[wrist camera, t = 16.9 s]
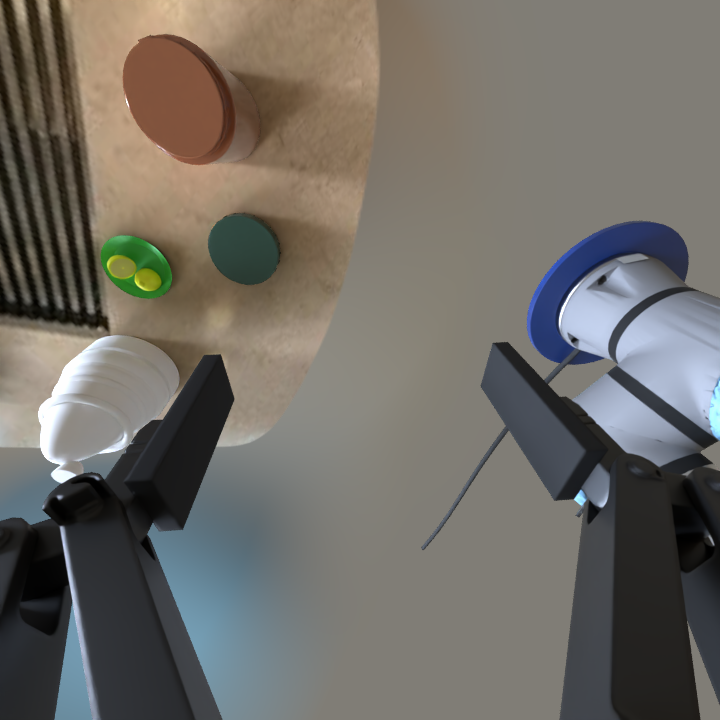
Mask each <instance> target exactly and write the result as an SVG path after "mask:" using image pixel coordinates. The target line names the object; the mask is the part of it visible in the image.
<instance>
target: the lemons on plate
mask: <svg viewBox="0 0 720 720" xmlns="http://www.w3.org/2000/svg"><path fill="white" fill-rule="evenodd" d="M101 262H102V266H103V268H104V270H105V272H106V274H107V276H108V277H109V278H110V280H111V281H112V282H113V283H114V284H115V285H116V286H118V287H119V288H120V289H121V290H123V291H125V292H126V293H128V294H130V295H133V296H135V297H139V298H145V299H152V298H157V297H160V296H162V295H164V294H165V293H166V292H167V291H168V290H169V288H170V286H171V283H172V273H171V269H170V266H169V264H168V262H167V261H166V259H165V257H164V256H163V255H162V254H161V253H160V251H158V250H157V249H156V248H155V247H154V246H152V245H151V244H149V243H148V242H146V241H144V240H142V239H140V238H137V237H133V236H126V235H123V236H116V237H113V238H111V239H109V240H108V241H107V242H106V243H105V244H104V246H103V248H102V250H101Z"/></svg>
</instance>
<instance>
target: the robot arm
mask: <svg viewBox="0 0 720 720" xmlns="http://www.w3.org/2000/svg"><path fill="white" fill-rule="evenodd" d="M555 323H556V329H557V331H558V334H559V335H560V337H561V338H562V339H563V340H565V341H566V342H567V343H568V344H570V345H571V346H573V347H575V349H574V350H573V351H572V352H571V353H570V354H569V355H568V356H567V358H565V359H564V360H563V361H562V362H561V363H560V364H559V365H558V366H557V367H556V368H555V369H554V370H553V372H551V374H550V375H549V376H548V377H547V378H546V379H545V380H543V379H542V378H541V377H540V376H539V375H538V374H537V373H536V372H535V370H534V369H533V368H532V367H531V366H530V365H529V364H528V363H527V362H526V361H525V360H524V359H523V358H522V357H521V356H520V355H519V354H518V352H517V351H516V350H515V349H514V348H513V347H512V346H511V345H510V344H509V343H508V342H501V343H493V344H492V349H491V351H490V355H489V358H488V362H487V366H486V369H485V373H484V376H483V380H482V383H481V388H482V389H483V391H484V392H485V394H486V395H487V397H488V398H489V400H490V402H491V403H492V405H493V406H494V408H495V409H496V411H497V412H498V414H499V416H500V417H501V419H502V420H503V422H504V423H505V425H506V427H505V428H504V429H503V431H502V432H501V433H500V435H499V436H498V437H497V439H496V440H495V442H494V443H493V444H492V446H491V447H490V448H489V450H488V451H487V453H486V454H485V456H484V457H483V459H482V460H481V462H480V463H479V465H478V466H477V468H476V469H475V471H474V472H473V474H472V475H471V477H470V479H469V480H468V482H467V483H466V485H465V487H464V488H463V490H462V491H461V493H460V494H459V496H458V498H457V499H456V501H455V502H454V504H453V506H452V507H451V509H450V510H449V512H448V513H447V515H446V516H445V517H444V519H443V520H442V522H441V523H440V525H439V526H438V527H437V529H436V530H435V531H434V533H433V534H432V535H431V536H430V538H429V539H428V540H427V541H426V543H425V544H424V545H423V546H422V547H421V548H422V550H424V549H425V548H426V547H427V546H428V544H429V543H430V542H431V541H432V539H433V538H434V537H435V536H436V534H437V533H438V532H439V531H440V529H441V528H442V527H443V525H444V524H445V523H446V521H447V520H448V518H449V517H450V515H451V514H452V512H453V511H454V509H455V508H456V506H457V505H458V503H459V502H460V500H461V499H462V497H463V496H464V494H465V492H466V491H467V489H468V488H469V486H470V485H471V483H472V482H473V480H474V479H475V477H476V475H477V474H478V472H479V471H480V469H481V468H482V466H483V465H484V464H485V462H486V461H487V459H488V458H489V456H490V455H491V454H492V452H493V451H494V449H495V448H496V447H497V445H498V444H499V443H500V441H501V440H502V439H503V437H504V436H505V435H506V433H507V432H508V431H510V432H511V434H512V436H513V437H514V439H515V440H516V442H517V443H518V445H519V447H520V448H521V450H522V451H523V452H524V454H525V456H526V457H527V459H528V460H529V462H530V464H531V465H532V467H533V468H534V470H535V471H536V473H537V474H538V476H539V477H540V479H541V481H542V482H543V484H544V485H545V487H546V488H547V490H548V491H549V493H550V494H551V496H552V498H553V499H554V500H556V501H557V500H569V499H574V500H575V501H576V502H578V503H579V504H580V505H581V508H580V509H579V511H578V512H577V514H576V516H577V517H580V516H581V514H582V513H583V520H582V528H581V537H580V546H579V555H578V564H577V572H576V581H575V590H574V599H573V607H572V616H571V624H570V634H569V642H568V652H567V660H566V668H565V677H564V686H563V694H562V703H561V712H560V720H700V713H699V706H698V698H697V691H696V683H695V676H694V669H693V661H692V654H691V646H690V639H689V632H688V624H687V621H688V623H689V626H690V629H691V631H692V634H693V636H694V639H695V642H696V644H697V647H698V649H699V652H700V655H701V657H702V660H703V663H704V665H705V668H706V670H707V673H708V676H709V678H710V681H711V683H712V686H713V688H714V691H715V694H716V696H717V699H718V702H719V704H720V471H719V468H718V467H717V466H716V465H715V464H713V463H712V462H711V461H710V460H708V459H707V458H706V457H705V456H703V455H702V454H701V453H700V452H701V451H702V450H704V449H705V448H707V447H709V446H710V445H712V444H714V443H716V442H718V441H720V298H718V297H715V296H712V295H709V294H707V293H704V292H701V291H698V290H695V289H693V288H690V287H688V286H687V285H686V284H685V283H684V282H683V281H682V280H681V279H680V278H679V277H678V276H677V275H676V274H675V273H674V272H673V271H672V270H671V269H670V268H669V267H667V266H666V265H665V264H664V263H663V262H661V261H660V260H658V259H656V258H654V257H651V256H648V255H645V254H642V253H636V252H629V253H621V254H617V255H614V256H611V257H608V258H606V259H604V260H602V261H600V262H598V263H596V264H595V265H593V266H592V267H590V268H589V269H587V270H586V271H585V272H584V273H582V274H581V275H580V276H579V277H578V278H577V279H576V280H575V281H574V282H573V283H572V284H571V286H570V287H569V288H568V289H567V291H566V292H565V294H564V295H563V297H562V299H561V301H560V303H559V306H558V309H557V312H556V318H555ZM581 351H585V352H588V353H591V354H595V355H598V356H601V357H604V358H608V359H611V360H613V361H614V362H616V363H617V364H618V365H617V366H615V367H614V368H613V369H611V370H610V371H609V372H608V373H606V374H605V375H604V376H602V377H601V378H600V379H598V380H597V381H596V382H595V383H594V384H592V385H591V386H589V387H588V388H587V389H586V390H584V391H583V392H582V393H581V394H579V395H578V396H577V397H575V398H574V399H573V400H571V399H569V398H567V397H559V396H558V395H557V394H556V393H555V392H554V391H553V390H552V388H550V386H549V385H548V383H549V382H550V381H551V380H552V379H553V378H554V377H555V376H556V375H557V374H558V373H559V372H560V371H561V370H562V369H563V368H564V367H565V366H566V365H567V364H568V363H570V362H571V361H572V360H573V359H574V358H575V357H576V356H577V355H578V354H579V353H580V352H581ZM233 402H234V395H233V392H232V389H231V386H230V382H229V379H228V376H227V373H226V369H225V366H224V363H223V360H222V356H221V354H218V355H204V356H203V357H202V359H201V361H200V362H199V364H198V365H197V367H196V368H195V370H194V372H193V373H192V375H191V376H190V378H189V379H188V381H187V383H186V384H185V386H184V387H183V389H182V390H181V392H180V394H179V395H178V397H177V398H176V400H175V401H174V403H173V405H172V406H171V408H170V409H169V411H168V412H167V414H166V416H165V417H164V419H163V420H151V421H150V422H149V423H148V424H146V425H145V426H144V427H143V428H142V429H140V430H139V431H138V433H137V434H136V436H135V437H134V439H133V440H132V441H131V444H129V446H128V447H127V449H126V450H125V453H124V454H122V456H121V457H120V459H119V460H118V462H117V463H116V464H115V466H114V467H113V469H112V470H111V472H110V473H109V475H108V476H107V478H106V479H105V480H104V479H103V478H102V476H101V475H100V474H98V473H93V472H91V473H84V474H80V475H77V476H75V477H72V478H70V479H68V480H67V481H65V482H63V483H62V484H60V485H59V486H58V487H57V488H55V489H54V490H53V491H52V492H51V493H50V494H49V495H48V497H47V498H46V500H45V501H44V504H43V511H44V512H45V513H46V514H48V515H49V516H50V517H51V519H48V520H45V521H42V522H39V523H36V524H33V525H30V524H28V523H27V522H26V521H25V520H24V519H22V518H10V519H6V520H3V521H0V720H54V718H55V711H56V705H57V698H58V692H59V685H60V679H61V672H62V665H63V659H64V652H65V646H66V639H67V632H68V626H69V619H70V613H71V606H72V601H73V607H74V613H75V619H76V624H77V631H78V637H79V642H80V648H81V654H82V660H83V666H84V672H85V677H86V684H87V689H88V696H89V701H90V707H91V713H92V719H93V720H222V718H221V715H220V712H219V710H218V707H217V705H216V702H215V700H214V697H213V695H212V692H211V690H210V687H209V685H208V682H207V680H206V677H205V675H204V672H203V670H202V667H201V665H200V662H199V660H198V657H197V655H196V652H195V650H194V647H193V645H192V642H191V640H190V637H189V635H188V632H187V630H186V627H185V625H184V622H183V620H182V617H181V615H180V612H179V610H178V607H177V605H176V602H175V600H174V597H173V595H172V592H171V590H170V587H169V585H168V582H167V580H166V577H165V575H164V572H163V570H162V567H161V565H160V562H159V559H158V557H157V554H156V552H155V549H154V547H153V545H152V542H151V540H150V538H149V536H148V535H147V533H148V531H149V529H150V527H151V525H152V523H154V525H155V526H156V528H157V529H158V530H159V531H171V530H183V528H184V525H185V523H186V520H187V518H188V515H189V513H190V510H191V508H192V505H193V502H194V500H195V498H196V495H197V492H198V490H199V488H200V485H201V483H202V480H203V477H204V475H205V472H206V470H207V467H208V465H209V462H210V460H211V457H212V455H213V452H214V449H215V447H216V445H217V442H218V440H219V437H220V435H221V432H222V430H223V427H224V424H225V422H226V419H227V417H228V414H229V412H230V409H231V407H232V404H233Z"/></svg>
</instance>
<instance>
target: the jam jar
mask: <svg viewBox="0 0 720 720" xmlns="http://www.w3.org/2000/svg"><path fill="white" fill-rule="evenodd" d="M138 41H139V43H138V44H137V45H135V46H134V47H133V48H132V50H131V51H130V52H129V54H128V56H127V58H126V61H125V64H124V69H123V88H124V94H125V98H126V101H127V104H128V107H129V109H130V112H131V114H132V116H133V118H134V119H135V121H136V123H137V124H138V126H139V127H140V128H141V130H142V131H143V132H144V133H145V135H146V136H147V137H148V138H149V139H150V140H151V141H152V142H153V143H155V144H156V145H157V146H158V147H159V148H160V149H161V150H162V151H164V152H165V153H166V154H168V155H169V156H171V157H172V158H174V159H176V160H178V161H181V162H184V163H187V164H192V165H206V164H219V163H232V162H239V161H242V160H244V159H245V158H247V157H248V156H249V155H251V154H252V152H253V151H254V150H255V148H256V146H257V144H258V141H259V137H260V117H259V112H258V109H257V106H256V103H255V101H254V99H253V97H252V95H251V94H250V92H249V91H248V89H247V88H246V87H245V85H244V84H243V83H242V82H241V81H240V80H239V79H238V78H236V77H235V76H234V75H233V74H231V73H230V72H229V71H228V70H226V69H225V68H224V67H223V66H222V65H220V64H219V63H218V62H217V61H215V60H214V59H213V58H212V57H211V56H209V55H208V54H207V53H206V52H204V51H203V50H202V49H201V48H199V47H198V46H197V45H195V44H193V43H192V42H190V41H188V40H186V39H184V38H182V37H178V36H175V35H168V34H163V35H156V36H151V35H150V36H147V37H145V38H142V39H140V40H138Z"/></svg>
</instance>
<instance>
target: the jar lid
mask: <svg viewBox="0 0 720 720" xmlns="http://www.w3.org/2000/svg"><path fill="white" fill-rule="evenodd" d="M279 244H280V243H279V242H278V239H277V237H276V235H275V233H274V232H273V230H272V229H271V227H269V226H268V225H267V224H266V223H265V222H264V221H263V220H261V219H259V218H257V217H255V215H250V214H245V213H234V214H232V215H229V216H225V217H223V219H222V220H220V221H218V222H217V223H216V224H215V226H214V227H213V228H212V230H211V232H210V235H209V239H208V249H209V253H210V256H211V259H212V261H213V263H214V264H215V266H216V267H217V269H218V270H219V271H220V272H221V273H222V274H223V275H224V276H226V277H227V278H229V279H230V280H232V281H234V282H237V283H240V284H245V285H254V284H259V283H262V282H264V281H265V280H267V279H268V278H269V277H271V275H272V274H273V273H274V271H276V269H277V268H276V267H277V265H278V264H279V262H280V260H279V259H280V254H281V252H280V246H279Z"/></svg>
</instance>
